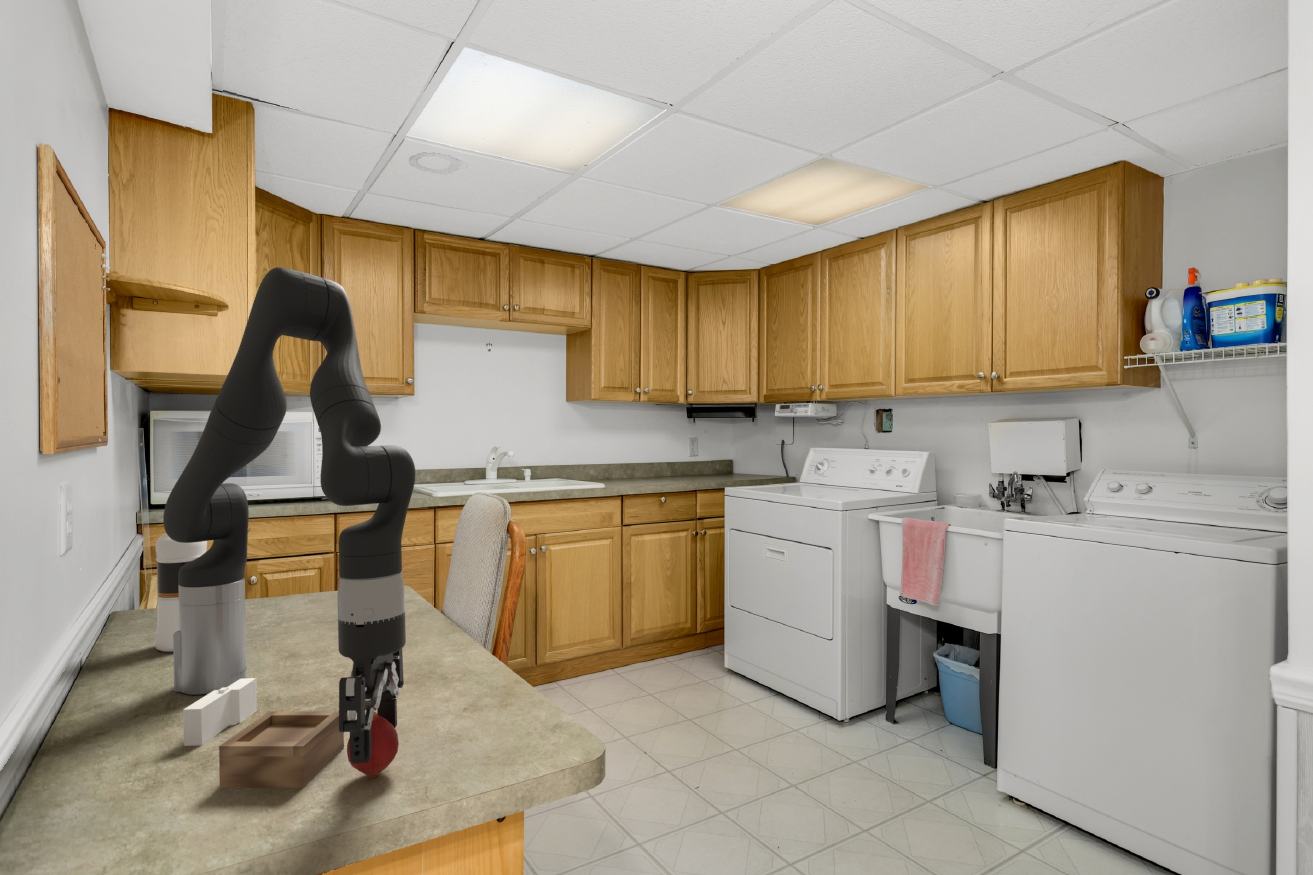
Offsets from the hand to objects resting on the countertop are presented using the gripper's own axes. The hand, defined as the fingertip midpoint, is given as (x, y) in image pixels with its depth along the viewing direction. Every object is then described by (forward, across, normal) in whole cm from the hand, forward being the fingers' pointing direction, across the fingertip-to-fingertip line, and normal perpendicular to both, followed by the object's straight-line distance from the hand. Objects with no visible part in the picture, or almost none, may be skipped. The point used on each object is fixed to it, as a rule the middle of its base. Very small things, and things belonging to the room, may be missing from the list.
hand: (374, 744), depth 83 cm
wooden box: (+4, -3, -12) cm, 13 cm away
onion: (+4, 0, 0) cm, 4 cm away
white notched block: (+4, -16, -27) cm, 31 cm away
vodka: (+3, -54, -57) cm, 79 cm away
